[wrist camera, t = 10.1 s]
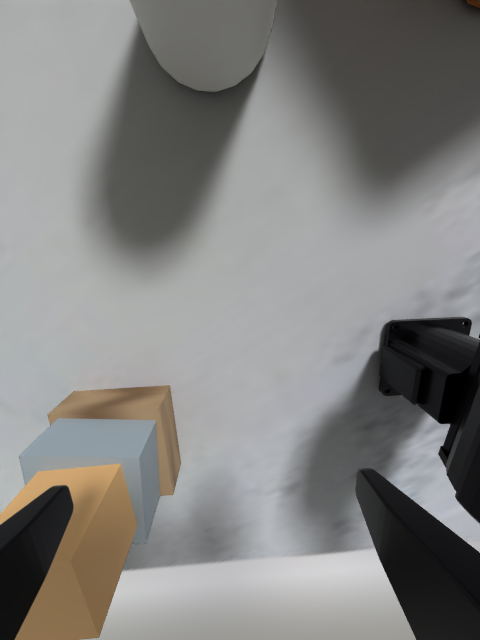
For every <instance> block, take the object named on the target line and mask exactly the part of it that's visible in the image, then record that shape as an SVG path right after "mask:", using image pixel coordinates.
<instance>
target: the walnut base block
mask: <svg viewBox="0 0 480 640" xmlns="http://www.w3.org/2000/svg"><path fill="white" fill-rule="evenodd" d="M58 418H67V419H121V420H156V424H157V443H158V462H159V481H160V496H163V495H173V494H174V490H175V485H176V481H177V477H178V473H179V469H180V465H181V460H180V453H179V446H178V439H177V432H176V425H175V418H174V411H173V404H172V397H171V390H170V385H167V386H151V387H136V388H120V389H104V390H89V391H74V392H73V393H71V394H70V395H69V396H68V397H67V398H66V399H65V400H64V401H62V402H61V403H60V404H59V405H58V406H57V407H56V408H54V409H53V410H52V411H51V412H50V413H49V414H48V419H49V422H50V425H52V424H53V423H54V422H55V421H56V420H57V419H58Z"/></svg>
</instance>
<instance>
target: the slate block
mask: <svg viewBox="0 0 480 640" xmlns="http://www.w3.org/2000/svg"><path fill="white" fill-rule="evenodd" d="M19 460H20V464H21V469H22V473H23V478H24V482H25V486H26V485H27V483H28V482H29V481H30V480H31V479H32V478H33V477H34V475H35V474H36V473H37V472H38V471H49V470H59V469H69V468H79V467H90V466H100V465H111V464H121V466H122V469H123V473H124V477H125V481H126V485H127V488H128V492H129V496H130V500H131V504H132V508H133V511H134V515H135V519H136V523H137V528H136V531H135V534H134V537H133V540H132V543H131V544H146V542H147V538H148V535H149V532H150V528H151V525H152V522H153V518H154V515H155V512H156V508H157V505H158V501H159V498H160V481H159V462H158V443H157V424H156V420H121V419H67V418H58V419H57V420H56V421H55V422H54V423H53V424H52V425H50V426H49V427H48V428H47V429H46V430H45V431H44V432H43V433H42V434H41V435H40V436H39V437H38V438H37V439H36V440H35V441H34V442H33V443H32V444H31V445H30V446H29V447H27V448H26V449H25V450H24V451H23V452H22V453H21V454H20V455H19Z"/></svg>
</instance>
